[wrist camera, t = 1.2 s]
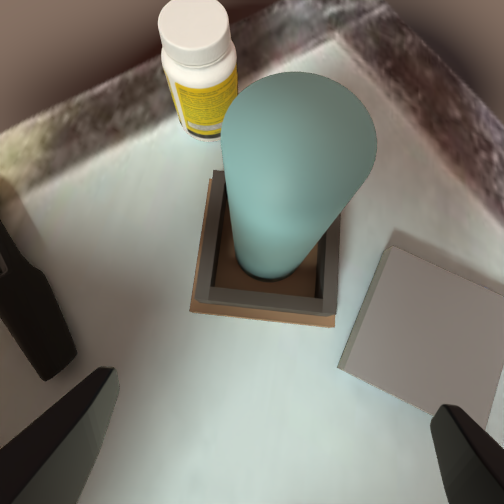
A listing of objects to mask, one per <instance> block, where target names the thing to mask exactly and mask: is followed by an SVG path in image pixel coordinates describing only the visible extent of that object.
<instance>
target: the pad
mask: <svg viewBox="0 0 504 504" xmlns="http://www.w3.org/2000/svg"><path fill="white" fill-rule="evenodd" d="M503 364H504V296H502V295H500V294H498V293H496V292H493V291H491V290H489V289H487V288H485V287H483V286H480V285H478V284H476V283H474V282H472V281H470V280H467V279H465V278H463V277H461V276H459V275H456V274H454V273H452V272H450V271H448V270H446V269H443V268H441V267H439V266H437V265H435V264H432V263H430V262H428V261H426V260H424V259H422V258H419V257H417V256H415V255H413V254H411V253H409V252H406V251H404V250H402V249H400V248H398V247H395V246H391V247H390V248H388V249H386V250H385V251H384V252H383V255H382V257H381V260H380V262H379V265H378V267H377V270H376V272H375V275H374V277H373V280H372V282H371V285H370V287H369V289H368V292H367V294H366V297H365V299H364V302H363V304H362V307H361V309H360V312H359V314H358V317H357V319H356V322H355V324H354V327H353V329H352V332H351V334H350V337H349V339H348V342H347V344H346V347H345V349H344V352H343V354H342V357H341V359H340V362H339V364H338V367H337V368H339V369H341V370H343V371H345V372H347V373H349V374H351V375H353V376H355V377H356V378H358V379H360V380H362V381H364V382H366V383H368V384H370V385H372V386H374V387H376V388H378V389H380V390H382V391H384V392H386V393H388V394H390V395H392V396H394V397H396V398H398V399H400V400H402V401H404V402H406V403H408V404H410V405H412V406H414V407H416V408H418V409H420V410H422V411H424V412H426V413H428V414H430V415H432V416H434V415H435V413H436V412H437V410H438V409H439V407H440V406H441V405H442V404H452V405H457V406H459V407H461V408H462V409H463V410H464V411H465V412H466V413H467V414H468V415H469V416H470V417H471V418H472V419H473V420H474V421H475V422H476V423H477V424H478V425H480V426H481V427H482V428H483V429H484V430H485V429H486V425H487V421H488V418H489V414H490V411H491V407H492V404H493V400H494V396H495V393H496V389H497V386H498V382H499V379H500V375H501V371H502V368H503Z"/></svg>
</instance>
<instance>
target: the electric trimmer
mask: <svg viewBox="0 0 504 504" xmlns="http://www.w3.org/2000/svg"><path fill="white" fill-rule="evenodd" d="M0 318H1V319H2V321H3V322H4V324H5V325H6V327H7V328H8V330H9V331H10V333H11V334H12V336H13V337H14V339H15V340H16V342H17V343H18V345H19V346H20V348H21V349H22V351H23V352H24V354H25V355H26V357H27V358H28V360H29V361H30V363H31V364H32V366H33V367H34V369H35V370H36V372H37V373H38V375H39V376H40V378H41V379H42V380H43V381H47V380H49V379H51V378H53V377H54V376H55V375H56V374H58V373H59V372H60V371H61V370H62V369H63V368H64V367H65V366H67V365H68V364H69V363H70V362H71V361H72V360H73V359H74V358H75V356H76V355H77V350H76V348H75V345H74V342H73V340H72V337H71V334H70V332H69V329H68V327H67V325H66V322H65V320H64V318H63V315H62V313H61V311H60V308H59V306H58V304H57V301H56V299H55V297H54V294H53V292H52V290H51V288H50V286H49V283H48V281H47V279H46V277H45V275H44V274H43V273H42V272H41V271H40V270H38V269H37V268H35V267H33V266H32V265H31V264H30V263H29V262H28V261H27V260H26V259H25V258H24V257H23V256H22V255H21V253H20V252H19V250H18V249H17V247H16V245H15V244H14V242H13V240H12V239H11V237H10V235H9V234H8V232H7V230H6V229H5V227H4V225H3V224H2V222H1V220H0Z"/></svg>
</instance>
